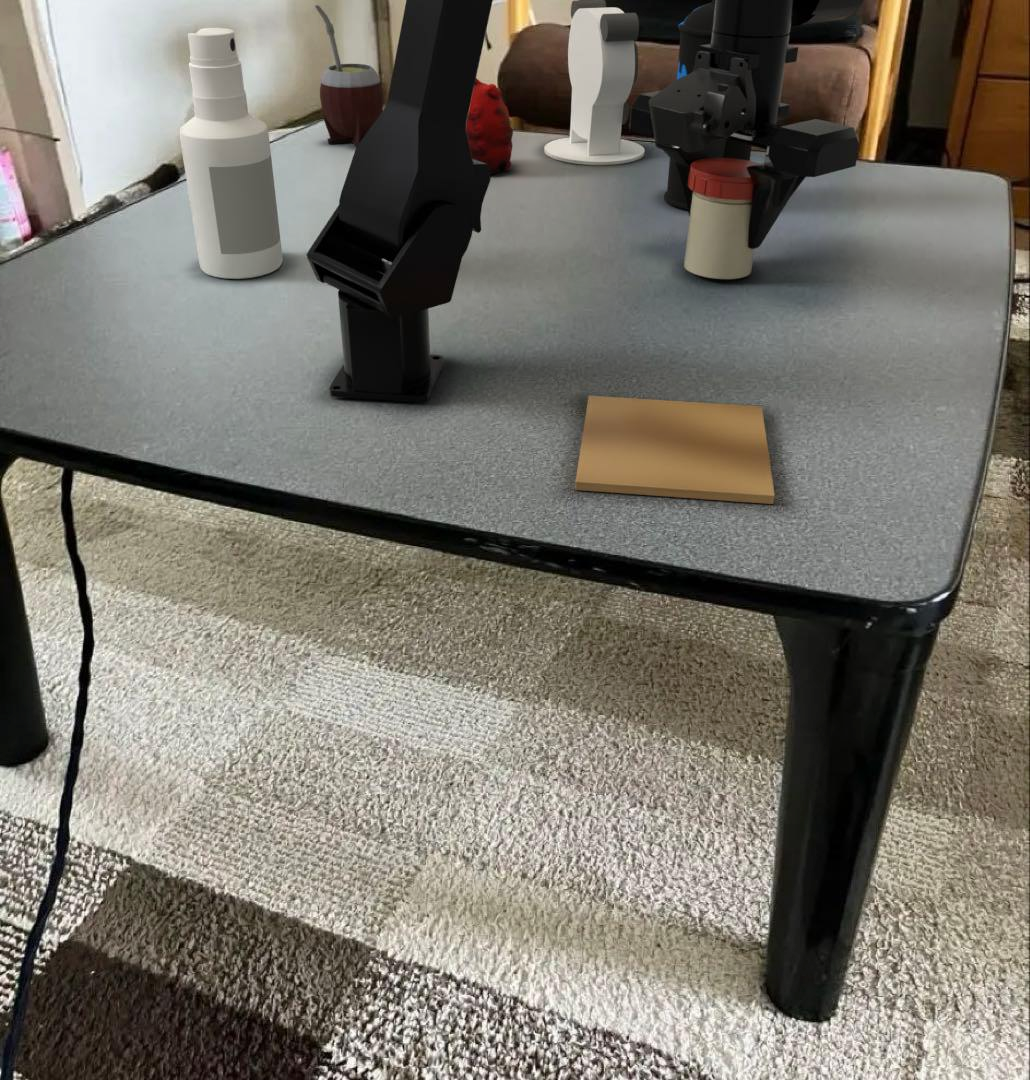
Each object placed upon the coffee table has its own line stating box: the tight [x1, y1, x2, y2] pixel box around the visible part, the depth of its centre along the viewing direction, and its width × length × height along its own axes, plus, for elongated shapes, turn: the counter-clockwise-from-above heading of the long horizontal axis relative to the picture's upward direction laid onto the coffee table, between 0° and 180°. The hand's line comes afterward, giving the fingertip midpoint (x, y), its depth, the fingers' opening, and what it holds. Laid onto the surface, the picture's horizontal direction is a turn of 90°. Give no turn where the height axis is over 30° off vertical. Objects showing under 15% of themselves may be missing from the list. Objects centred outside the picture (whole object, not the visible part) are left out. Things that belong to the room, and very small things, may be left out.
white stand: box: [543, 0, 646, 166], centre depth 119 cm, size 12×11×15 cm
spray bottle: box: [179, 27, 284, 280], centre depth 86 cm, size 7×7×18 cm
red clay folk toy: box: [466, 77, 514, 174], centre depth 112 cm, size 8×7×15 cm
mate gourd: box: [314, 4, 384, 148], centre depth 121 cm, size 8×8×15 cm
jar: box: [683, 192, 756, 280], centre depth 88 cm, size 6×6×7 cm
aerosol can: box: [663, 0, 755, 211], centre depth 102 cm, size 8×8×20 cm
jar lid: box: [688, 158, 761, 200], centre depth 86 cm, size 6×6×2 cm
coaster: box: [574, 395, 776, 505], centre depth 65 cm, size 11×11×1 cm
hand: (725, 238), depth 89 cm, fingers closed on jar, jar lid, 6 cm apart
